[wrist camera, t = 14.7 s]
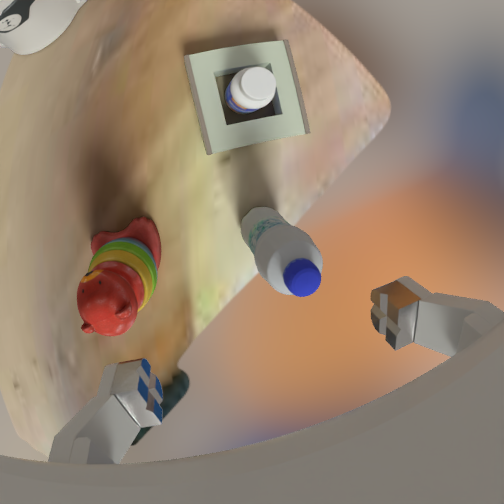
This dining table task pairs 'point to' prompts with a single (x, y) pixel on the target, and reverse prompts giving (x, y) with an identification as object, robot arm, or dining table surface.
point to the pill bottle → (250, 90)
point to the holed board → (232, 61)
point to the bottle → (282, 252)
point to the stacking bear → (119, 277)
